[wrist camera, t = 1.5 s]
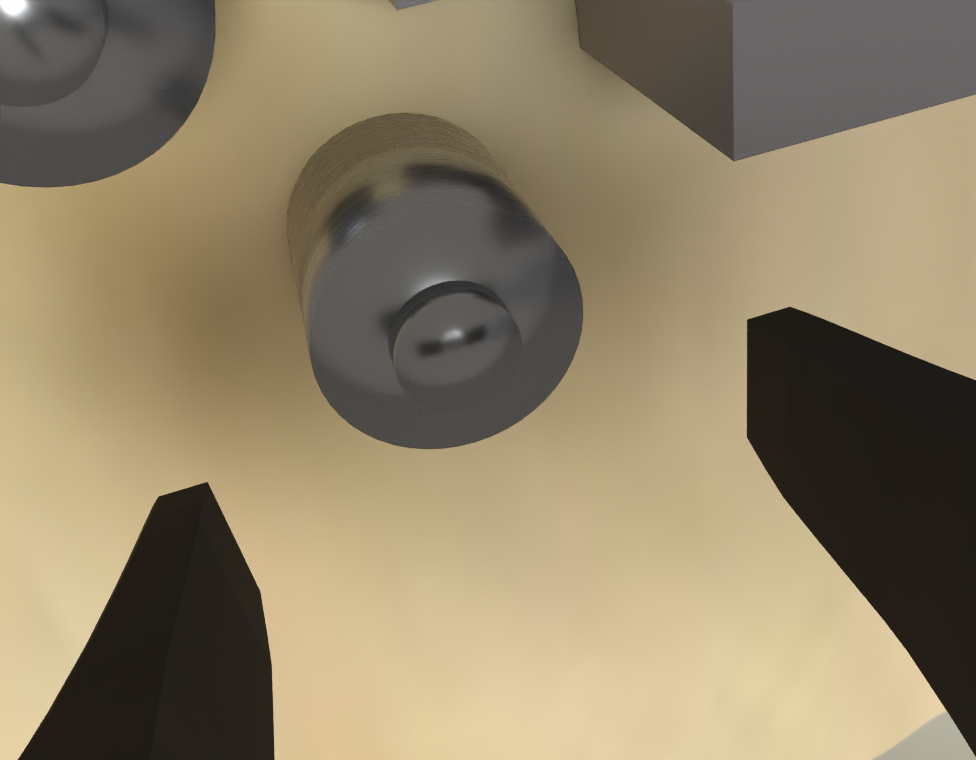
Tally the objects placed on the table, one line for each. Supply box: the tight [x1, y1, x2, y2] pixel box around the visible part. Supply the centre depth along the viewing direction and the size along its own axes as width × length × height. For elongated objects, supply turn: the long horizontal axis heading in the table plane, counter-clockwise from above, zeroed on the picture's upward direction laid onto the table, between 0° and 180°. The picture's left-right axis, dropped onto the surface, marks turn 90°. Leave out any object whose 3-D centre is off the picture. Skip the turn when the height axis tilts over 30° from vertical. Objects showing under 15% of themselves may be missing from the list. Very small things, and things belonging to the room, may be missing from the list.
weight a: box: [287, 113, 583, 449], centre depth 16 cm, size 4×4×5 cm
